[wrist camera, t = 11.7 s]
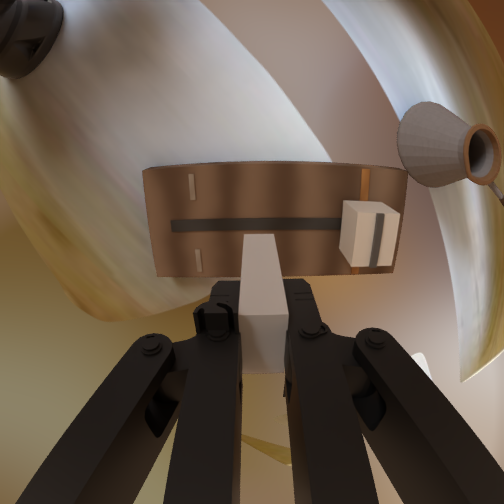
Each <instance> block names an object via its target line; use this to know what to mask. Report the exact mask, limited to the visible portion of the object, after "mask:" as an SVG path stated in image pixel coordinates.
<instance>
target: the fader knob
mask: <svg viewBox="0 0 504 504" xmlns="http://www.w3.org/2000/svg"><path fill="white" fill-rule="evenodd" d="M399 219H400V214H399V213H398V212H396V211H395V210H393V209H392V208H390V207H389V206H387V205H386V204H384V203H382V202H372V201H347V200H343V212H342V224H341V235H340V244H339V249H340V250H341V252H342V253H343V255H344V257H345V258H346V260H347V261H348V263H349V264H350V266H351V267H364V266H369V267H370V268H377V266H391V265H392V260H393V255H394V250H395V244H396V238H397V232H398V226H399Z"/></svg>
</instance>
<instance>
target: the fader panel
mask: <svg viewBox="0 0 504 504" xmlns="http://www.w3.org/2000/svg"><path fill="white" fill-rule="evenodd" d="M142 173H143V183H144V192H145V201H146V209H147V217H148V224H149V231H150V238H151V244H152V250H153V256H154V262H155V267H156V273H157V277H241V269H242V255H243V241H244V234H274V237H275V243H276V248H277V253H278V258H279V264H280V269H281V274H282V276H320V275H321V276H324V275H355V274H378V273H379V274H381V273H393V270H394V266H395V261H396V256H397V251H398V245H399V239H400V233H401V227H402V221H403V214H404V206H405V197H406V189H407V179H408V171H405V170H402V169H399V168H394V167H383V166H374V165H361V164H348V163H331V162H305V161H240V162H214V163H196V164H182V165H170V166H159V167H151V168H148V169H145V170H143V171H142ZM343 200H347V201H372V202H382V203H384V204H386V205H387V206H389V207H390V208H392V209H393V210H395V211H396V212H398V213H399V214H400V219H399V226H398V232H397V238H396V244H395V250H394V255H393V260H392V265H391V266H377V268H370V267H369V266H364V267H351V266H350V264H349V263H348V261H347V260H346V258H345V257H344V255H343V253H342V252H341V250H340V249H339V244H340V235H341V224H342V212H343Z"/></svg>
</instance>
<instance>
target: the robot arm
mask: <svg viewBox="0 0 504 504" xmlns="http://www.w3.org/2000/svg"><path fill="white" fill-rule="evenodd" d="M62 17H63V10H62V6H61V4H60V3H59V2H58V1H56V0H0V75H1V76H3V77H5V78H21V77H23V76H25V75H27V74H28V73H30V72H31V71H32V70H33V69H35V68H36V67H37V66H38V64H39V63H40V62H41V61H42V60H43V59H44V57H45V56H46V54H47V53H48V52H49V50H50V48H51V47H52V45H53V43H54V41H55V39H56V37H57V35H58V32H59V30H60V27H61V23H62ZM193 316H194V321H195V327H196V333H197V334H196V336H195V337H193V338H190V339H188V340H184V341H179V342H174V343H172V342H171V340H170V339H169V338H168V337H167V336H165V335H162V334H155V333H153V334H147V335H145V336H142V337H140V338H139V339H138V340H137V341H135V342H134V343H133V345H132V346H131V347H130V348H129V350H128V351H127V352H126V353H125V354H124V356H123V357H122V358H121V360H120V361H119V362H118V364H117V365H116V366H115V367H114V368H113V370H112V371H111V372H110V373H109V375H108V376H107V377H106V378H105V380H104V381H103V383H102V384H101V385H100V386H99V387H98V389H97V390H96V391H95V393H94V394H93V395H92V397H91V398H90V399H89V401H88V402H87V403H86V405H85V406H84V407H83V408H82V410H81V411H80V413H79V414H78V415H77V416H76V418H75V419H74V420H73V422H72V423H71V424H70V426H69V427H68V429H67V430H66V431H65V433H64V434H63V435H62V437H61V438H60V439H59V441H58V442H57V444H56V445H55V446H54V448H53V449H52V451H51V452H50V453H49V455H48V456H47V458H46V459H45V460H44V462H43V463H42V465H41V466H40V468H39V469H38V471H37V472H36V474H35V475H34V476H33V478H32V479H31V481H30V482H29V484H28V485H27V487H26V488H25V490H24V491H23V493H22V494H21V496H20V497H19V499H18V500H17V502H16V503H15V504H133V503H134V501H135V499H136V497H137V495H138V493H139V491H140V490H141V488H142V486H143V484H144V482H145V480H146V478H147V476H148V474H149V472H150V471H151V469H152V467H153V465H154V463H155V461H156V459H157V457H158V455H159V453H160V452H161V450H162V448H163V446H164V444H165V442H166V440H167V438H168V436H169V434H170V432H171V430H172V429H173V427H174V425H175V423H176V421H177V419H178V423H177V428H176V433H175V438H174V443H173V449H172V454H171V460H170V465H169V471H168V477H167V483H166V489H165V495H164V502H163V504H240V468H241V463H240V462H241V426H242V425H241V424H242V388H243V384H242V374H264V373H265V374H267V373H284V367H285V385H284V394H283V397H286V404H287V415H288V426H289V435H290V436H289V437H290V448H291V460H292V471H293V483H294V495H295V504H379V501H378V497H377V492H376V488H375V483H374V479H373V475H372V471H371V466H370V463H369V458H368V454H367V451H366V447H365V443H364V439H363V435H364V437H365V438H366V440H367V442H368V444H369V445H370V447H371V449H372V450H373V452H374V454H375V456H376V457H377V459H378V460H379V462H380V464H381V466H382V467H383V469H384V471H385V473H386V474H387V476H388V478H389V479H390V481H391V483H392V484H393V486H394V488H395V490H396V491H397V493H398V495H399V496H400V498H401V500H402V502H403V503H404V504H504V472H503V470H502V469H501V467H500V466H499V465H498V463H497V462H496V460H495V459H494V458H493V456H492V455H491V454H490V452H489V451H488V450H487V448H486V447H485V446H484V444H482V442H481V441H480V439H479V438H478V437H477V435H476V434H475V433H474V432H473V430H472V429H471V428H470V426H469V425H468V424H467V423H466V421H465V420H464V419H463V418H462V416H461V415H460V414H459V413H458V412H457V410H456V409H455V408H454V407H453V405H452V404H451V403H450V402H449V401H448V399H447V398H446V397H445V396H444V395H443V393H442V392H441V391H440V390H439V389H438V387H437V386H436V385H435V384H434V383H433V382H432V380H431V379H430V378H429V377H428V376H427V375H426V373H425V372H424V371H423V370H422V369H421V368H420V367H419V365H418V364H417V363H416V362H415V361H414V360H413V359H412V358H411V356H410V355H409V354H408V353H407V352H406V351H405V350H404V349H403V347H402V346H401V345H400V344H399V343H398V342H397V341H396V340H395V339H394V338H393V336H391V335H390V334H389V333H388V332H387V331H384V330H381V329H379V328H366V329H363V330H361V331H359V333H358V334H357V335H356V338H351V337H345V336H340V335H336V334H334V333H332V332H331V330H330V328H329V327H328V325H326V324H325V323H323V322H322V320H321V317H320V315H319V311H318V308H317V305H316V302H315V300H314V296H313V294H312V290H311V287H310V284H308V283H307V282H306V281H305V280H304V279H282V274H281V269H280V264H279V258H278V253H277V248H276V243H275V237H274V234H244V241H243V255H242V269H241V281H218V282H217V283H216V284H215V285H214V286H213V287H212V290H211V295H210V299H209V301H208V302H205V303H202V304H201V305H199V306H198V307H196V309H195V310H194V312H193ZM362 434H363V435H362Z"/></svg>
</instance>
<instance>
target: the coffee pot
mask: <svg viewBox="0 0 504 504" xmlns="http://www.w3.org/2000/svg"><path fill="white" fill-rule="evenodd" d="M397 146H398V152H399V156H400V158H401V161H402V163H403V166H404V167H405V169H406V170H407V171H408V173H409V175H410V176H411V177H412V178H414V179H415V180H416V181H417V182H418V183H420V184H422V185H424V186H426V187H434V188H437V187H441V186H445V185H448V184H451V183H453V182H456V181H459V180H462V179H465V178H468V179H469V180H471V181H472V182H474V183H476V184H478V185H488V186H489V187H490V188H491V189H492V191H493V192H494V193H495V194H496V195H497V197H498V198H499V200H500V202H501V203H502V205H503V206H504V195H503V194H502V193H501V192H500V190H499V189H498V187H497V186H496V185H495V183H494V182H493V181H494V179H495V178H496V177H497V175H498V173H499V170H500V166H501V157H502V156H501V147H500V143H499V140H498V138H497V136H496V134H495V133H494V131H493V130H492V129H491V128H490V127H489V126H487V125H485V124H476V125H474V126H472V127H471V126H470V125H468V124H467V123H466V122H464V121H463V120H462V119H460V118H459V117H458V116H456V115H455V114H453V113H452V112H451V111H449V110H448V109H446V108H445V107H443V106H442V105H440V104H437V103H433V102H420V103H418V104H416V105H414V106H412V107H411V108H410V109H409V110H408V111H407V112H406V113H405V115H404V116H403V118H402V120H401V122H400V124H399V128H398V132H397Z"/></svg>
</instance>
